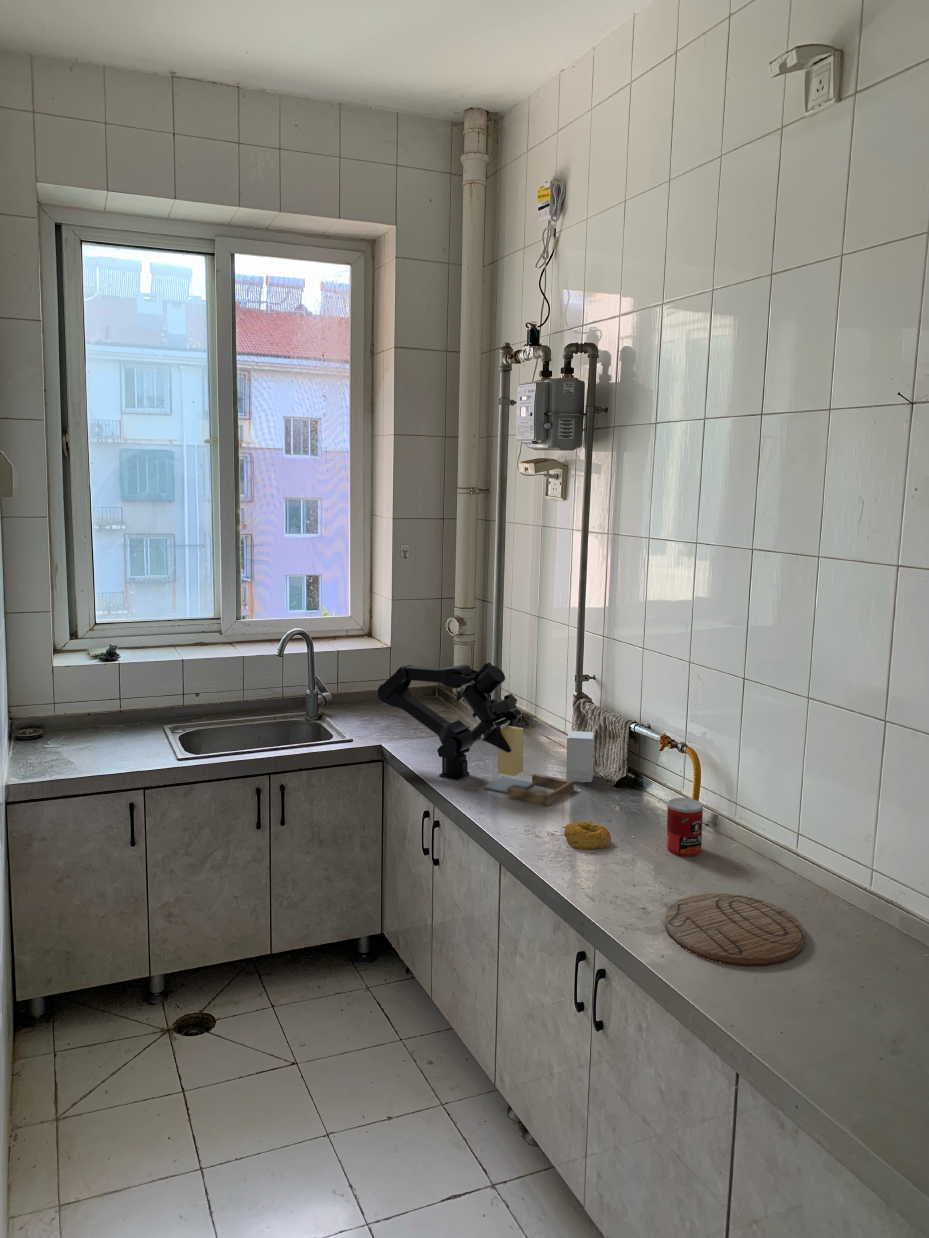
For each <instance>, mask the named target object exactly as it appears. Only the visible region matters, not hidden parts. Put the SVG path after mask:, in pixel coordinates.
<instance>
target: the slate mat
mask: <svg viewBox="0 0 929 1238" xmlns="http://www.w3.org/2000/svg"><path fill="white" fill-rule="evenodd" d="M534 785H535V784H534V783H532V781H531V782H530V781H526V780H521V779H517V778H516V779H515V778H511V777H506V776H501V777H500V778H498V779H496V780H494V781H492V782H490V783H488V784H486V785H484V786H483V790H487V791H491V792H497V793H501V794H507V795H508V788H510V787H514V788H519V789H523V790H528V789H530V788H532V787H533V786H534Z"/></svg>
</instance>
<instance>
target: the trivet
mask: <svg viewBox="0 0 929 1238" xmlns="http://www.w3.org/2000/svg"><path fill="white" fill-rule="evenodd" d="M664 922H665V923H664V928H666V929H665V931H666V934H667V935H668V937H669V936H670V937H671V938H672V939H673V940H674V941H675V942H676V943H677V944H678V945H680V946H681V947H680V946H679V947H680V948H682V947H683V948H685V949H687V950H688V951H690V952H691V953H690V952H689V953H690V954H692V953H694V954H697V955H699V956H701V957H700V958H702V957H704V958H706V959H705V960H707V959H709V960H708V961H711V960H713V961H712V962H715V961H716V962H715V963H719V962H721V963H720V964H723V963H725V964H724V965H727V964H729V966H737V967H744V968H745V967H769V966H774V965H779V964H783V963H786V962H788V961H791V960H793V959H795V958H796V957H797V956H798V955H799V954H801V953H802V952H803V949H804V946H805V943H806V934H805V929H804V926H803V925H802V924H801V922H800V921H799V920H798V918H797V917H796V916H795V915H793V914H792V913H790V912H789V911H787V910H786V909H784V908H782V907H780V906H777V905H776V904H774V903H771V902H768V901H765V900H762V899H759V898H755V897H752V896H747V895H741V894H735V893H734V894H732V893H721V892H719V893H718V892H717V893H715V892H714V893H701V894H696V895H695V894H694V895H690V896H687V897H684V898H681V899H678V900H677V901H676V902H674V903H672V904H670V905H669V907H668V909H667V910H666V912H665V921H664ZM670 937H669V938H670ZM671 938H670V939H671ZM672 939H671V940H672ZM673 940H672V941H673ZM674 941H673V942H674ZM675 942H674V943H675ZM676 943H675V944H676ZM677 944H676V945H677ZM678 945H677V946H678ZM683 948H682V949H683ZM685 949H684V950H685ZM687 950H686V951H687ZM688 951H687V952H688ZM694 954H693V955H694ZM697 955H696V956H697ZM699 956H698V957H699ZM704 958H703V959H704Z"/></svg>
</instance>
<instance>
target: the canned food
mask: <svg viewBox="0 0 929 1238" xmlns="http://www.w3.org/2000/svg"><path fill="white" fill-rule="evenodd" d="M666 810H667V811H666V812H667V815H666V848H667V850H668V852H670V853H671V854H672V855H675V854H676V856H679V855H680V856H679V857H687V856H689V857H695V856H697V854H698V855H699V854H700V852H701V850H702V843H703V842H702V837H703V836H702V835H703V815H704V813H703V812H704V811H703V810H704V808H703V803H701V802H700V801H698V800H696V799H693V798H688V797H675V798H672V799H669V800H668V802H667V809H666ZM694 855H695V856H694Z"/></svg>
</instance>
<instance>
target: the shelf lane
mask: <svg viewBox="0 0 929 1238" xmlns="http://www.w3.org/2000/svg"><path fill="white" fill-rule="evenodd" d="M531 782H532V783H534V785H537V786H542V787H547V788H551V789H554V790H553V791H551V792H550V793H548V794H546V793H541V792H537V791H534V790H533V791H532V790H528V789H526V790H523V789H519V788H514V787H510V788H508V794H507V798H509V799H513V800H518V801H521V802H522V801H523V802H527V803H532V804H536V805H540V806H546V807H549V806H552V804H554V803H555V802H557V801H559V800H561V799H562V798H564V797H565V796H567V795H568V794H570V793H572V792H574V789H575V782H574V781H570V780H566V778H565V779H564V778H558V777H554V776H549V775H543V774H539V773H533V774H532V775H531ZM571 791H572V792H571Z"/></svg>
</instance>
